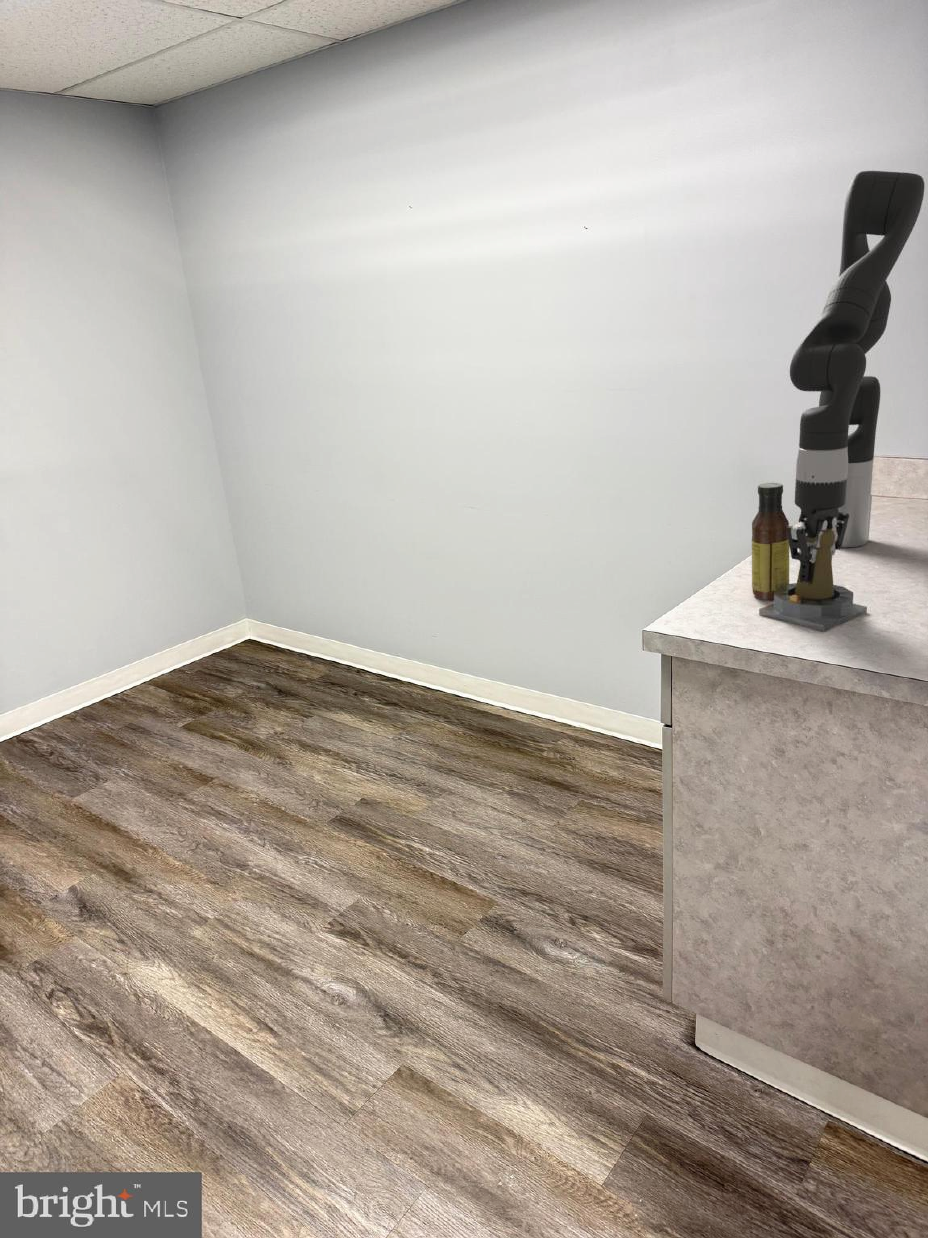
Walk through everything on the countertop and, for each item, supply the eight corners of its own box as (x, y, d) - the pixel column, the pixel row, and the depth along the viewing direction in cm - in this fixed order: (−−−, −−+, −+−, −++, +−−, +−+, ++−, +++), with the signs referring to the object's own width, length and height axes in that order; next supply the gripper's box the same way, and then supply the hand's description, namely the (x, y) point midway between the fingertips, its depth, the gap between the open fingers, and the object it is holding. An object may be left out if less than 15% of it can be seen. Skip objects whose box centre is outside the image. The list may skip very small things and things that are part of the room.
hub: (801, 597, 157) (803, 573, 155) (866, 612, 147) (868, 587, 146) (759, 614, 150) (760, 590, 149) (824, 631, 141) (825, 605, 139)
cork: (797, 599, 145) (801, 532, 142) (792, 587, 151) (795, 523, 147) (837, 598, 144) (841, 531, 140) (830, 587, 150) (834, 522, 146)
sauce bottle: (788, 590, 160) (794, 480, 154) (788, 602, 155) (794, 488, 148) (750, 589, 162) (754, 480, 156) (748, 600, 157) (752, 488, 150)
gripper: (816, 486, 134) (810, 595, 140) (868, 470, 142) (861, 574, 148) (773, 481, 140) (768, 586, 146) (825, 466, 148) (819, 566, 154)
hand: (815, 579), depth 147 cm, fingers closed on cork, 4 cm apart
